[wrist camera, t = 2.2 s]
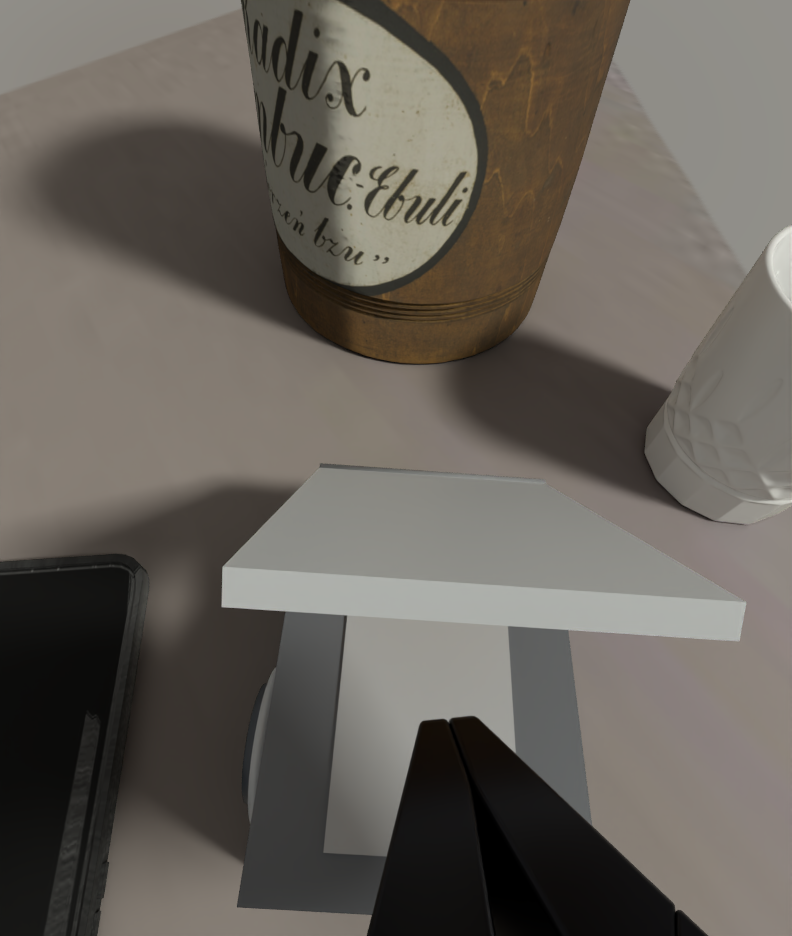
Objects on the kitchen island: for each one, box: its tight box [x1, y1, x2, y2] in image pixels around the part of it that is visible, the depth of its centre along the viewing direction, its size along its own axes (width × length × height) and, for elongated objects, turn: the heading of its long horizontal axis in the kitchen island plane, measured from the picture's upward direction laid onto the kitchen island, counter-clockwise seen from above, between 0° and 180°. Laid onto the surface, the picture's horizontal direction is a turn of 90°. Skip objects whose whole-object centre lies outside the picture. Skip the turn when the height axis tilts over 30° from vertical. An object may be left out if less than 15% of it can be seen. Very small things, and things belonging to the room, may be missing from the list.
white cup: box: [644, 225, 792, 525], centre depth 20 cm, size 8×8×10 cm
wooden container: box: [241, 0, 630, 364], centre depth 21 cm, size 15×15×22 cm
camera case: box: [237, 611, 592, 915], centre depth 17 cm, size 11×9×5 cm
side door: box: [222, 463, 746, 641], centre depth 13 cm, size 10×8×1 cm
